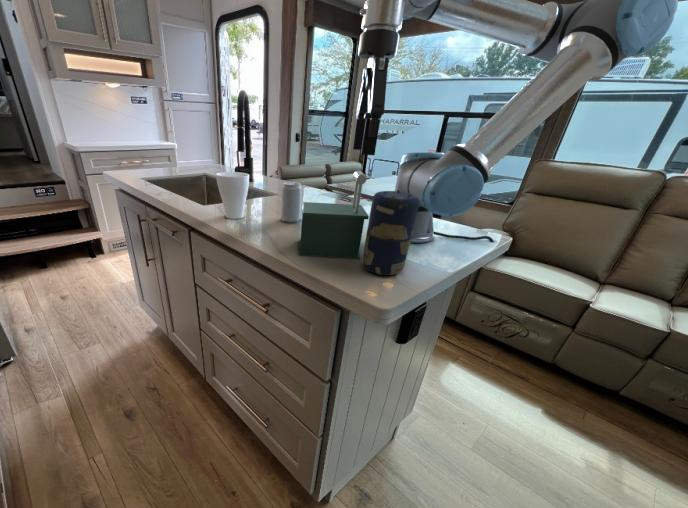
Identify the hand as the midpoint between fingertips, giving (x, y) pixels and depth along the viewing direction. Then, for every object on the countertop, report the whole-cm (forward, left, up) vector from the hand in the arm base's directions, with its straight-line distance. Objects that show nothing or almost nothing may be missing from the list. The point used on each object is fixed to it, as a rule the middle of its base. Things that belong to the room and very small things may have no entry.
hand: (362, 152), depth 72 cm
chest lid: (+5, 0, -14) cm, 15 cm away
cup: (+35, -26, -24) cm, 50 cm away
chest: (+5, 0, -24) cm, 24 cm away
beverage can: (+16, -25, -24) cm, 38 cm away
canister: (-6, +12, -24) cm, 27 cm away
